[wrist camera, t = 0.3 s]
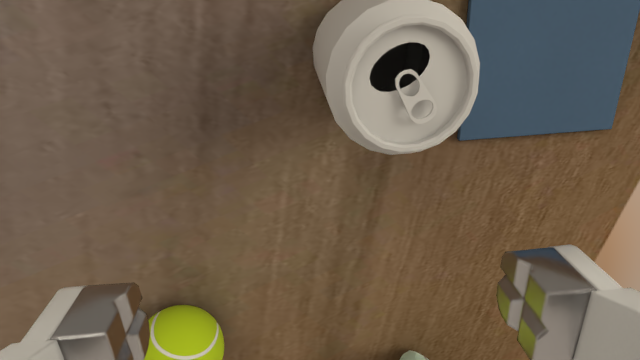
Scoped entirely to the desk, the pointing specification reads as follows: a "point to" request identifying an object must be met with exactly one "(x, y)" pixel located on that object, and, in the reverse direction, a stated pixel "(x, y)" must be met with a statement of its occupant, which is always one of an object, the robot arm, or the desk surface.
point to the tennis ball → (184, 335)
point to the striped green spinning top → (412, 356)
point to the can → (396, 72)
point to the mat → (548, 65)
